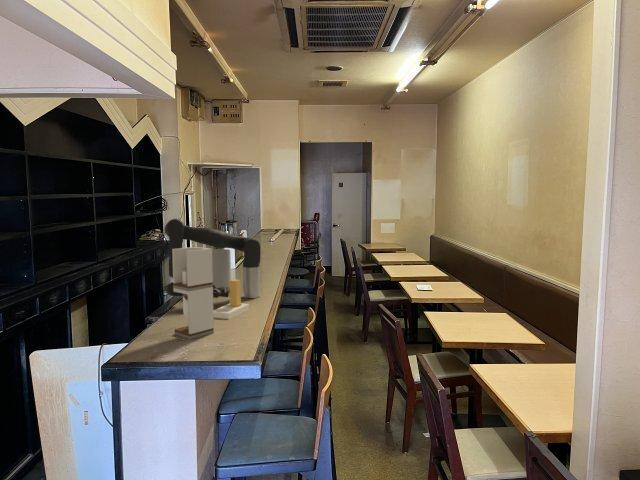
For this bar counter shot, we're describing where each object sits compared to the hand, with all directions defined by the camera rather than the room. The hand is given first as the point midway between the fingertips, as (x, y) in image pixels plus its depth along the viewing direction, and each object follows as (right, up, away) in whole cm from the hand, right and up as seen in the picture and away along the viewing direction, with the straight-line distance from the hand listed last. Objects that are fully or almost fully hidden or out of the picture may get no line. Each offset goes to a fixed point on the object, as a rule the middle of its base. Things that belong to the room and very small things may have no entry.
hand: (232, 293), depth 223 cm
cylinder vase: (-16, -5, +46) cm, 49 cm away
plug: (+1, -9, 0) cm, 9 cm away
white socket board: (0, -9, -4) cm, 10 cm away
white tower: (-9, -13, -36) cm, 39 cm away
